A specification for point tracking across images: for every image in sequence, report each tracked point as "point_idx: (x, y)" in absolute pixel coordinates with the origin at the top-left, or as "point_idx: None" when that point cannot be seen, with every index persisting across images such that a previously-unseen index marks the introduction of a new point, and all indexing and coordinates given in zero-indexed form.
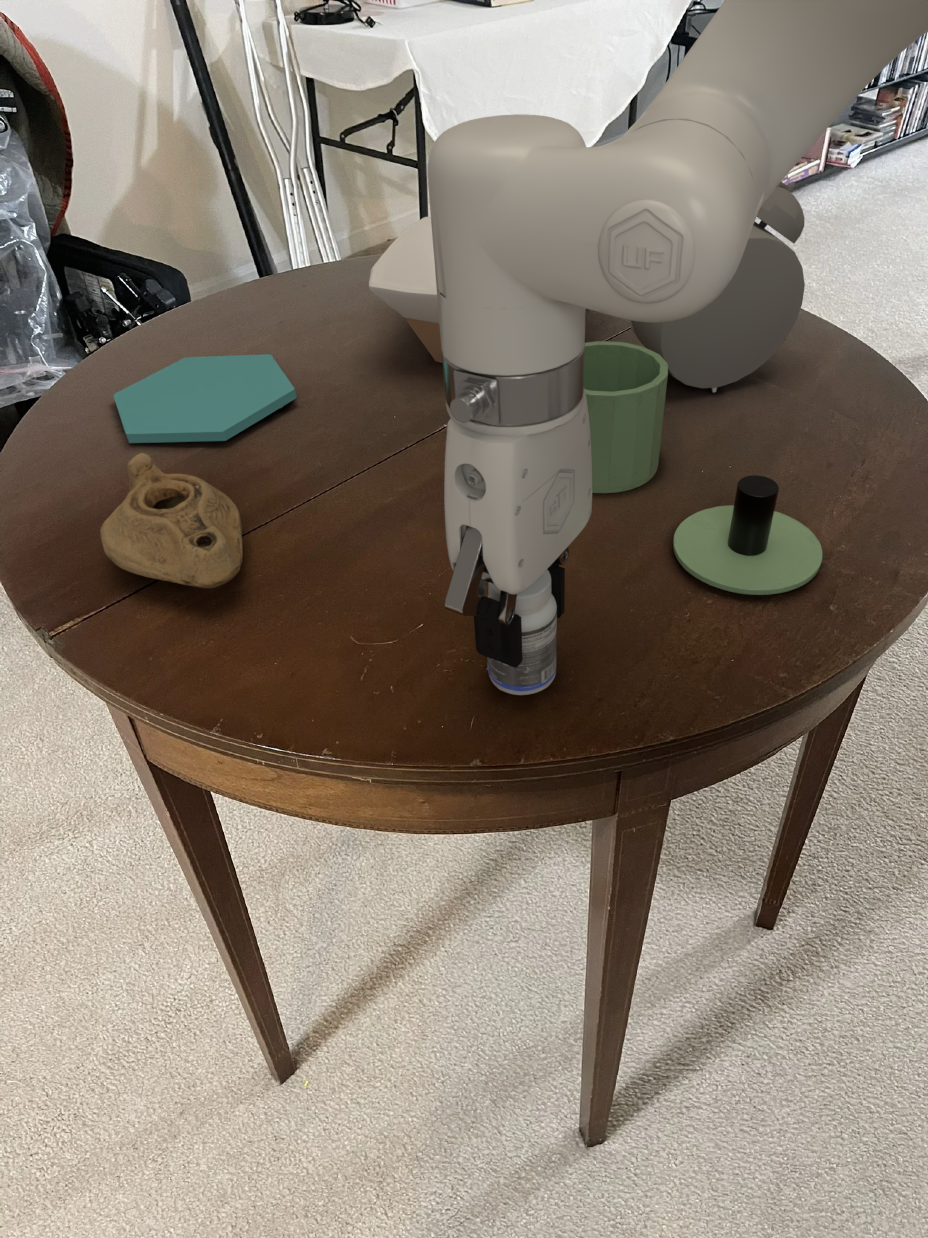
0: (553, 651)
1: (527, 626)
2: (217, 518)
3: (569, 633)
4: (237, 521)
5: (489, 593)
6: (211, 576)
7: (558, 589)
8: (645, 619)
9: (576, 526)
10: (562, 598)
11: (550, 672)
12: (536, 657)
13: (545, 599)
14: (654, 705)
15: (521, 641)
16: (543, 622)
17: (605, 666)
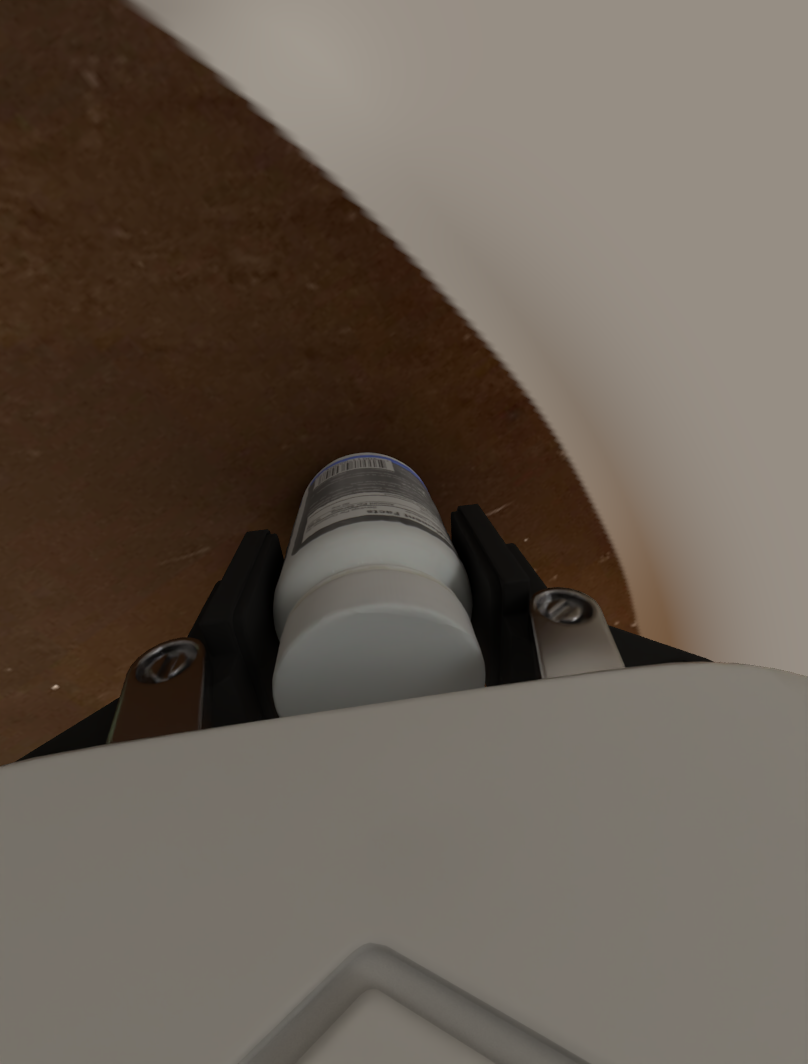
0: (350, 479)
1: (444, 553)
2: None
3: (201, 512)
4: None
5: None
6: None
7: (253, 582)
8: (29, 411)
9: (75, 834)
10: (245, 556)
11: (365, 461)
12: (411, 492)
13: (380, 577)
14: (241, 231)
15: (476, 534)
16: (401, 531)
17: (223, 400)
